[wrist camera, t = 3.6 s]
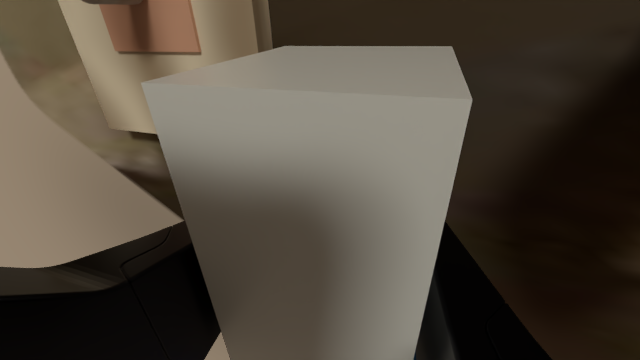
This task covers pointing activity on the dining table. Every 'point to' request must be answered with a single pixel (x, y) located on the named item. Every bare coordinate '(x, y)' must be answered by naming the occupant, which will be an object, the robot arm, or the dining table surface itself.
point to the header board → (158, 45)
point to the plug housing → (316, 192)
